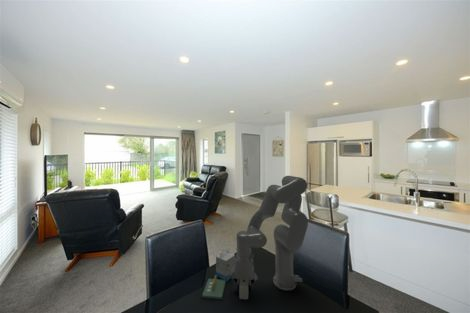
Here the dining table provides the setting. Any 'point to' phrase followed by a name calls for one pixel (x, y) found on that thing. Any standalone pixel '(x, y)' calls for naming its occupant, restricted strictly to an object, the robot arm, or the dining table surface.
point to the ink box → (225, 265)
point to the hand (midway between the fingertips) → (244, 290)
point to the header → (214, 288)
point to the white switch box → (243, 289)
